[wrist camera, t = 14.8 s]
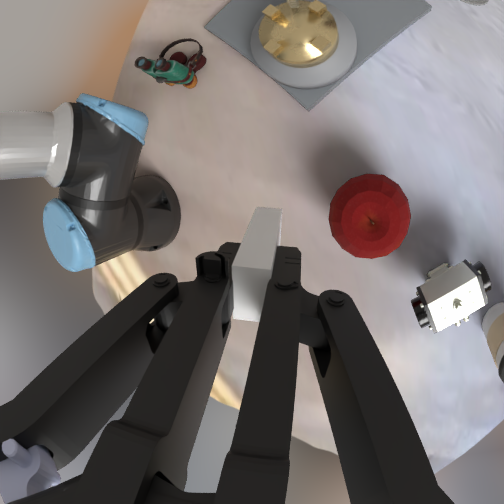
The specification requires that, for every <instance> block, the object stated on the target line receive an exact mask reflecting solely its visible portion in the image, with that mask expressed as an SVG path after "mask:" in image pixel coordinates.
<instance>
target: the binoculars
mask: <svg viewBox="0 0 504 504" xmlns="http://www.w3.org/2000/svg"><path fill="white" fill-rule="evenodd" d="M186 41H194V42H197V43H198V44H199V42H198V41H196V40H194V39H181V40H177V41H174V42H172V43H171V44H169V45H168V46H167V47H166V48H165V49H164V50H163V51H162V52H161V54H160V55H159V59H157V61H155V60H151V59H146V58H145V57H139V58H138V59H137V60H136V61H135V66H136V67H137V68H140V69H141V70H142V71H144V72H145V73H147V74H149V75H151V76H152V77H153V78H155V79H156V81H157V82H158V83H163V82H165V83H166V84H168V85H170V86H173V85H175V84H183V85H184V86H185V87H187V88H193V87H195V85H196V84H197V78H196V76H195V75H194V74H195V73H196V71H198V70H200V69H201V68H202V67H203V66H204V65H205V63H206V58H205V57H204V56H203V55H202V52H203V49H202V46H201V45H200V44H199V49H200V50H199V52H198V53H197V54H194V55H193V56H192V57H191V58H190V59H189V61H188V67H186V66H184V65H185V63H186V62H187V57H186V56H185V55H184V53H182V52H176V53H174V54H173V55H172V56H171V57H170V59H169V60H168V61H166V59H164V58H163V57H164V55H165V53H166V52H167V51H168V50H169V49H170V48H171V47H173V46H174V45H176V44H178V43H181V42H186Z"/></svg>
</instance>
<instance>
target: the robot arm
mask: <svg viewBox="0 0 504 504" xmlns="http://www.w3.org/2000/svg"><path fill="white" fill-rule="evenodd" d="M76 102H77V103H71V102H65V103H63V104H61V105H60V106H59V107H58V108H57V109H55V110H54V111H53V112H31V111H25V112H24V111H1V112H0V180H2V179H13V178H27V177H44V178H45V179H46V180H47V181H48V182H49V183H50V185H51V186H52V187H60V189H59V196H58V199H57V198H53V199H52V200H51V201H49V202H48V203H47V205H46V206H45V209H44V213H43V225H44V231H45V236H46V239H47V242H48V244H49V247H50V249H51V251H52V253H53V255H54V257H55V258H56V260H57V261H58V262H59V263H60V264H61V265H62V266H63V267H64V268H65V269H67V270H69V271H73V272H77V271H81V270H84V269H87V268H92V267H94V266H96V265H98V264H101V263H103V262H105V261H108V260H110V259H112V258H115V257H117V256H119V255H122V254H124V253H126V252H129V251H131V250H137V251H155V250H159V249H161V248H163V247H166V246H167V245H169V244H170V243H171V242H172V241H173V240H174V238H175V237H176V235H177V233H178V230H179V226H180V219H181V213H180V206H179V202H178V199H177V196H176V194H175V192H174V190H173V189H172V187H171V186H170V185H169V184H168V183H167V182H166V181H165V180H163V179H162V178H160V177H157V176H152V175H149V176H140V177H137V178H135V179H134V175H135V171H136V167H137V163H138V160H139V156H140V152H141V149H142V145H144V144H145V141H144V139H145V135H146V131H147V127H148V118H147V116H146V115H145V114H144V113H143V112H141V111H138V110H135V109H132V108H129V107H126V106H124V105H120V104H117V103H114V102H111V101H108V100H104V99H101V98H98V97H95V96H91V95H88V94H84V93H82V94H81V95H80V96H79V97H78V98H77V100H76ZM281 222H282V209H279V208H266V207H256V209H255V212H254V214H253V216H252V219H251V221H250V224H249V226H248V228H247V231H246V233H245V235H244V238H243V240H242V242H241V243H233V242H226V243H225V244H223V245H222V246H220V248H219V250H218V251H217V252H216V251H210V252H205V253H202V254H200V255H198V256H197V257H196V268H197V277H196V279H195V280H194V281H190V282H179V283H178V281H177V278H176V276H175V275H173V274H170V273H159V274H156V275H153V276H151V277H150V278H148V279H147V280H146V281H145V282H144V283H142V284H141V285H140V286H139V287H137V288H136V289H135V290H134V291H133V292H131V293H130V294H129V295H128V296H127V297H126V298H124V299H123V300H122V301H121V302H120V303H118V304H117V305H116V306H115V307H114V308H113V309H111V310H110V311H109V312H108V313H107V314H106V315H104V317H102V318H101V319H100V320H99V321H98V322H96V323H95V324H94V325H93V326H92V327H91V328H90V329H88V330H87V331H86V332H85V333H84V334H83V335H82V336H80V337H79V338H78V339H77V340H76V341H75V342H74V343H73V344H71V345H70V346H69V347H68V348H67V349H66V350H65V351H64V352H63V353H62V354H60V355H59V356H58V357H57V358H56V359H55V360H54V361H53V362H52V363H51V364H50V365H49V366H47V367H46V368H45V369H44V370H43V371H42V372H41V373H40V374H39V375H38V376H37V377H36V378H35V379H34V380H33V381H32V382H31V383H30V384H29V385H28V386H26V387H25V388H24V389H23V391H21V392H20V393H19V394H18V395H17V396H16V397H15V398H14V399H13V400H12V401H9V402H8V403H6V404H4V405H2V406H0V493H1V496H2V498H3V501H4V503H5V504H285V498H286V491H287V484H288V477H289V466H290V461H289V450H290V441H291V432H292V422H293V412H294V401H295V390H296V377H297V363H298V348H299V342H300V343H302V344H305V345H308V346H309V352H310V355H311V359H312V362H313V365H314V369H315V372H316V376H317V379H318V383H319V386H320V390H321V393H322V397H323V400H324V404H325V407H326V411H327V414H328V418H329V422H330V425H331V429H332V433H333V436H334V440H335V444H336V448H337V451H338V455H339V459H340V463H341V467H342V471H343V474H344V478H345V482H346V486H347V490H348V494H349V498H350V502H351V504H454V502H453V501H452V500H451V499H450V498H449V497H448V496H447V495H446V494H445V493H444V491H443V490H442V489H441V488H440V487H439V486H438V484H437V481H436V478H435V476H434V473H433V470H432V468H431V465H430V462H429V460H428V457H427V455H426V452H425V450H424V447H423V445H422V442H421V440H420V437H419V435H418V433H417V430H416V428H415V426H414V423H413V421H412V419H411V416H410V414H409V412H408V410H407V407H406V405H405V403H404V401H403V399H402V396H401V394H400V392H399V390H398V388H397V386H396V384H395V382H394V379H393V377H392V375H391V373H390V371H389V369H388V367H387V365H386V363H385V361H384V359H383V357H382V355H381V353H380V351H379V349H378V347H377V345H376V343H375V341H374V339H373V337H372V335H371V333H370V332H369V330H368V328H367V326H366V324H365V322H364V320H363V318H362V316H361V315H360V313H359V311H358V309H357V307H356V305H355V304H354V302H353V300H352V298H351V297H350V296H349V295H348V294H346V293H344V292H342V291H339V290H327V291H324V292H322V293H321V294H320V296H317V295H314V294H311V293H309V292H307V291H306V290H305V289H304V288H303V287H302V286H301V282H300V280H301V252H300V251H299V249H298V248H297V247H286V246H280V237H281ZM232 312H233V319H239V320H247V321H255V322H259V327H258V331H257V336H256V340H255V345H254V350H253V354H252V359H251V363H250V368H249V372H248V377H247V381H246V386H245V390H244V394H243V399H242V403H241V407H240V412H239V417H238V420H237V424H236V429H235V433H234V437H233V441H232V445H231V448H230V451H229V452H228V453H227V455H226V458H225V461H224V465H223V468H222V472H221V476H220V480H219V484H218V488H217V491H216V493H188V492H184V488H185V485H186V481H187V466H188V462H189V459H190V455H191V452H192V449H193V446H194V443H195V440H196V436H197V433H198V430H199V427H200V423H201V420H202V417H203V414H204V411H205V408H206V405H207V401H208V398H209V395H210V392H211V389H212V385H213V382H214V379H215V376H216V373H217V370H218V366H219V363H220V360H221V357H222V354H223V350H224V347H225V344H226V341H227V338H228V334H229V331H230V328H231V315H232ZM153 318H154V321H153V322H152V323H151V324H150V323H149V322H150V321H151V320H152V319H153ZM136 388H137V389H136ZM135 389H136V391H135V393H134V395H133V397H132V399H131V401H130V404H129V406H128V407H127V409H126V411H125V413H124V415H123V417H122V418H121V419H120V420H114V421H111V422H110V423H109V424H107V426H106V427H105V429H104V430H103V432H102V434H101V436H100V438H99V440H98V443H97V444H96V447H95V448H94V451H93V453H92V455H91V457H90V459H89V461H88V463H87V465H86V467H85V469H84V472H83V474H81V475H79V476H76V477H74V478H72V479H70V480H68V481H65V482H63V483H61V484H59V483H60V482H61V477H60V475H59V473H58V472H57V471H58V470H59V469H61V468H63V467H65V466H66V465H67V464H69V463H70V462H71V461H72V460H73V459H75V458H76V457H77V456H78V455H79V454H80V452H81V451H83V449H84V448H85V447H86V446H87V445H88V444H89V442H90V441H91V440H92V439H93V438H94V437H95V435H96V434H97V433H98V432H99V431H100V430H101V428H102V427H103V426H104V425H105V424H106V423H107V422H108V420H109V419H110V418H111V417H112V416H113V415H114V413H115V412H116V411H117V410H118V409H119V407H121V405H122V404H123V403H124V402H125V401H126V400H127V398H128V397H129V396H130V395H131V394H132V393H133V391H134V390H135ZM51 485H52V486H53V487H51V488H49V487H50V486H51Z"/></svg>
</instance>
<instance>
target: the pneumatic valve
mask: <svg viewBox="0 0 504 504" xmlns="http://www.w3.org/2000/svg"><path fill="white" fill-rule="evenodd" d="M447 267H448V264H447V263H446V264H445V263H443V264H442V265H440V266H438V267H437V268H435V269H433V270H431V271H429V272H428V274H427V275H428V278H429V277H430V279H428V280H426V283H424V284H422V285H420V286H419V287H417V292H416V295H417V296H418V295H419V296H418V297H416V298H414V299H412V300H411V303H412V306H413V309H414V312H415V314H416V317H417V319H418V322H419V324H420V327H421V328H424V327H426V326H428V325H430V324H431V326H429V328H430V330H431V329H432V330H433V332H434V333H436V332H438V331H440V330H442V329H444V328H446V327H448V326H450V325H451V324H453V323H455V325H456V326H459V325H460V324H461V322H460V320H461V319H462V318H464V319H463V320H464V321H465V322H466V321H468V320H469V317H468V315H469V314H471V313H473V312H474V311H476V310H478V309H479V308H481V307H483V306H484V305H486V304H488V300H487V298H488V297H487V295H486V292H488V291H489V290H491V282H490V278H489V276H488V273H487V271H486V269H485V267H484V266H483V264H482V263H481V262H477V263H475V264H474V265H472V264H471V262H468V261H467V260H464V261H462V262H461V263H459V264H457V265H456V266H451V267H449V268H447ZM435 325H436V326H435Z"/></svg>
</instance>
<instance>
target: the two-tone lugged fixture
mask: <svg viewBox="0 0 504 504" xmlns="http://www.w3.org/2000/svg"><path fill="white" fill-rule="evenodd" d="M286 1H287V2H285V3H282V4H280V5H278V6H276V7H274V6H273V5H271V4H270V5H269V6H267V7H266V8H265V9H264V10H263V11H262V13H263V14H264V15H265V16H264V17H263V19H262V21H261V23H260V26H259V39H260V42H261V44H262V45H263V48H264V49H265V50H266V51H267V52H268V53H269V54H270V55H271V56H272V57H273V58H274V59H275V60H276V61H278V62H279V63H281V64H283V65H286V66H289V67H293V68H309V67H314V66H317V65H319V64H321V63H323V62H325V61H327V60H328V59H329V58H330V57H331V56H332V55H333V54H334V52H335V51H336V49H337V47H338V44H339V33H338V29H337V25H336V22H335V19H334V17H333V16H332V14H331V13H330V12H329V11H328V10H327V7H326V5H325V4H323V3H321V2H320V1H318V0H315V1H313V2H310V1H303V0H286Z"/></svg>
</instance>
